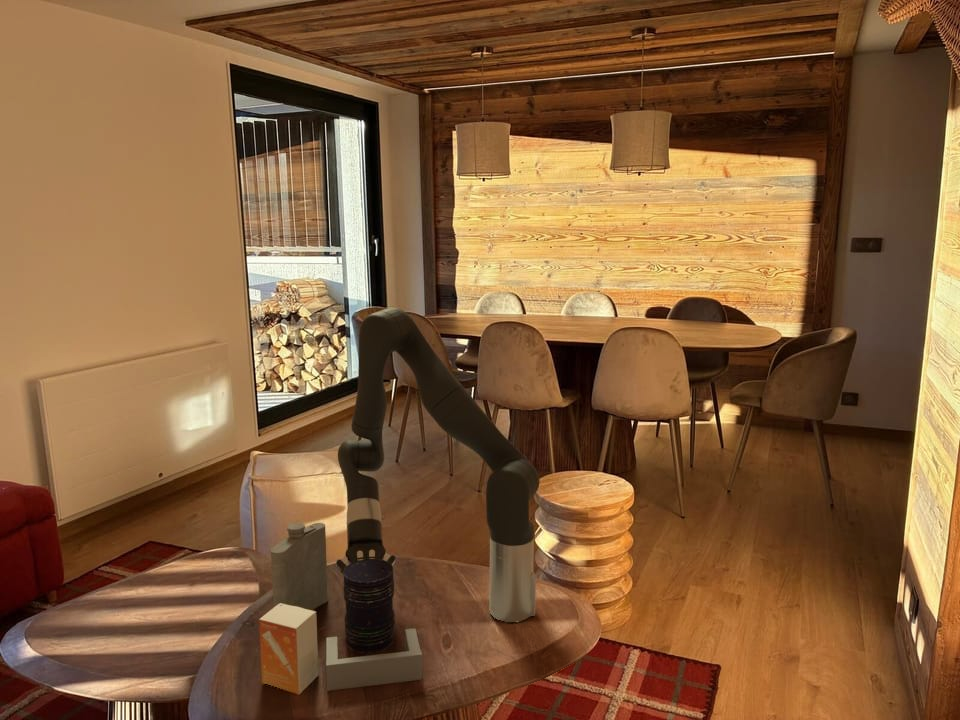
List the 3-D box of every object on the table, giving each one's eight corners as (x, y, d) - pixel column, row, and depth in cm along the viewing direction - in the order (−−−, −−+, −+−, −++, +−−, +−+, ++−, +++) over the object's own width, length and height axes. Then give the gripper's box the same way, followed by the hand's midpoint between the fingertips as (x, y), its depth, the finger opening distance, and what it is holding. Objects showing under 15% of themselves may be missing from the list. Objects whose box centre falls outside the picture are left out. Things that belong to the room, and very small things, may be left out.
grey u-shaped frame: (415, 646, 143) (415, 623, 142) (422, 679, 133) (422, 654, 132) (327, 656, 139) (326, 632, 138) (327, 690, 129) (326, 665, 128)
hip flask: (283, 634, 147) (279, 542, 143) (267, 630, 148) (263, 538, 145) (330, 598, 161) (327, 513, 157) (315, 594, 163) (312, 510, 159)
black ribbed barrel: (346, 656, 139) (344, 584, 137) (343, 629, 149) (340, 561, 146) (398, 649, 142) (397, 578, 139) (391, 623, 151) (390, 556, 148)
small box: (261, 685, 131) (257, 618, 128) (283, 665, 137) (279, 601, 134) (299, 696, 128) (296, 628, 125) (319, 675, 134) (317, 610, 131)
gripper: (333, 519, 155) (334, 601, 145) (395, 515, 157) (401, 595, 148) (333, 532, 161) (335, 612, 151) (393, 527, 163) (399, 606, 154)
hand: (368, 603), depth 150 cm, fingers closed
